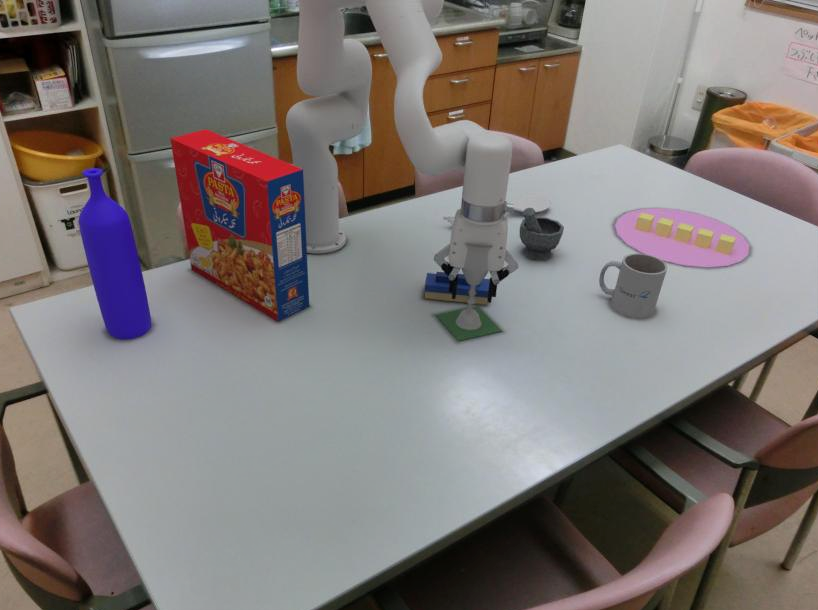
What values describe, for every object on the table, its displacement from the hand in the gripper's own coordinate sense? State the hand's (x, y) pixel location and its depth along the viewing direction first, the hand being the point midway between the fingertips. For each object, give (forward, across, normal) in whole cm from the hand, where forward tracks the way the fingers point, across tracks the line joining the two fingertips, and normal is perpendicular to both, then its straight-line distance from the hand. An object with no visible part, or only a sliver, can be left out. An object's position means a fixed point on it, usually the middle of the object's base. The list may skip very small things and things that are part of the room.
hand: (471, 296), depth 130 cm
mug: (+6, -32, -14) cm, 35 cm away
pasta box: (+6, +45, -5) cm, 46 cm away
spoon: (+6, -6, -50) cm, 50 cm away
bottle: (+6, +62, +14) cm, 64 cm away
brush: (+6, +3, -10) cm, 12 cm away
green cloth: (+6, 0, 0) cm, 6 cm away
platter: (+6, -50, -49) cm, 71 cm away
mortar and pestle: (+6, -14, -32) cm, 36 cm away
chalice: (+6, 0, 0) cm, 6 cm away
